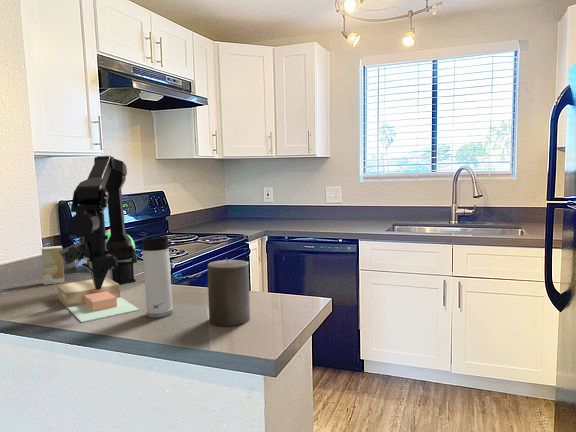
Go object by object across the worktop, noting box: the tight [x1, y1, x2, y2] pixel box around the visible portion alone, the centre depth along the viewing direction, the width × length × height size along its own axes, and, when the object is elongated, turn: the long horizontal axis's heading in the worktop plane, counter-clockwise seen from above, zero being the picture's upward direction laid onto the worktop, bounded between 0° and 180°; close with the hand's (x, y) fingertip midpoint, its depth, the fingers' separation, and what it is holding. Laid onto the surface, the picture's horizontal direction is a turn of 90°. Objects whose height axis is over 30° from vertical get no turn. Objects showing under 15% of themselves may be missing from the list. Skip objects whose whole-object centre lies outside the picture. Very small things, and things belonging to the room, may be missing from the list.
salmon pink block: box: [84, 291, 117, 311], centre depth 120 cm, size 6×9×2 cm, turn 38°
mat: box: [67, 296, 140, 324], centre depth 118 cm, size 14×16×1 cm
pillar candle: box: [207, 257, 251, 328], centre depth 105 cm, size 10×10×15 cm
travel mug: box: [141, 235, 174, 319], centre depth 111 cm, size 6×7×20 cm
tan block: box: [56, 276, 121, 309], centre depth 129 cm, size 14×13×4 cm
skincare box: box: [41, 245, 65, 286], centre depth 150 cm, size 6×4×12 cm
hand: (98, 289), depth 120 cm, fingers closed
